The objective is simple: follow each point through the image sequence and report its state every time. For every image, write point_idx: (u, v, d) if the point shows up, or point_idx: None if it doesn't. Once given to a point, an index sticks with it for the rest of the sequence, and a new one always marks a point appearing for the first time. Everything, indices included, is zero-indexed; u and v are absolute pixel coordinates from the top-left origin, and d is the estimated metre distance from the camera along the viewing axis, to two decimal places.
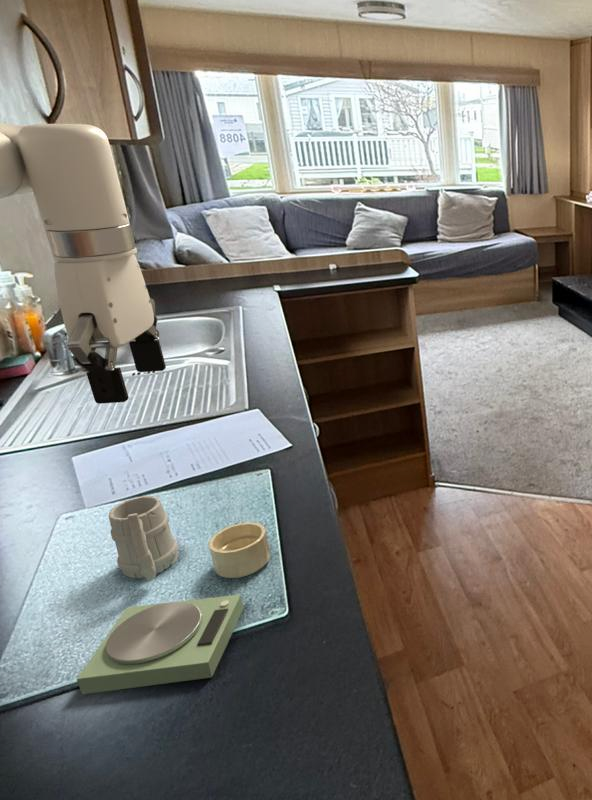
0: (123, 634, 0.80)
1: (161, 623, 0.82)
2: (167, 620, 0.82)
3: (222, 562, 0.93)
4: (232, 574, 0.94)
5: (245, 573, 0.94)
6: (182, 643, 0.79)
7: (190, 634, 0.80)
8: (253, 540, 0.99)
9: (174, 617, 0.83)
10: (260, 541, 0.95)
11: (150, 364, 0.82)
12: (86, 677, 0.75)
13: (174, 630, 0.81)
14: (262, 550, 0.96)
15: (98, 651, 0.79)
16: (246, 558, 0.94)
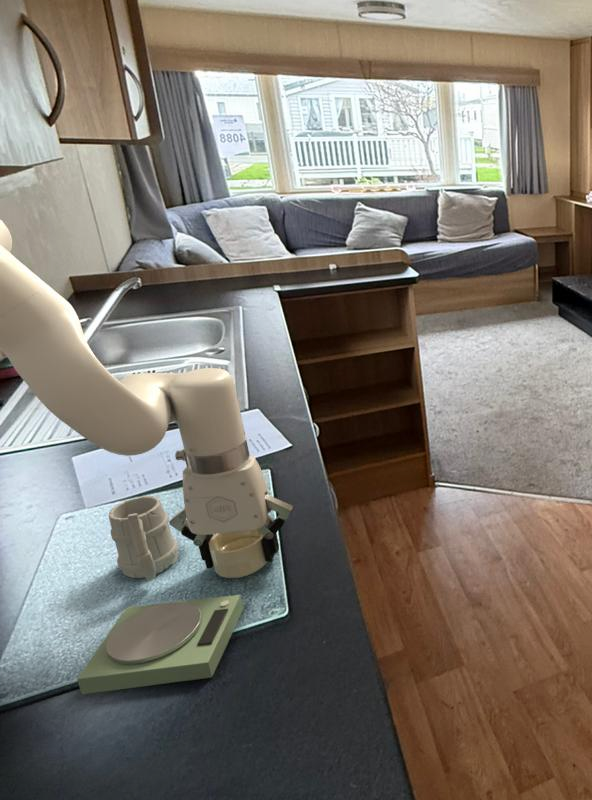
0: (123, 634, 0.80)
1: (161, 623, 0.82)
2: (167, 620, 0.82)
3: (222, 562, 0.93)
4: (232, 574, 0.94)
5: (245, 573, 0.94)
6: (182, 643, 0.79)
7: (190, 634, 0.80)
8: (253, 540, 0.99)
9: (174, 617, 0.83)
10: (260, 541, 0.95)
11: None
12: (86, 677, 0.75)
13: (174, 630, 0.81)
14: (262, 550, 0.96)
15: (98, 651, 0.79)
16: (246, 558, 0.94)
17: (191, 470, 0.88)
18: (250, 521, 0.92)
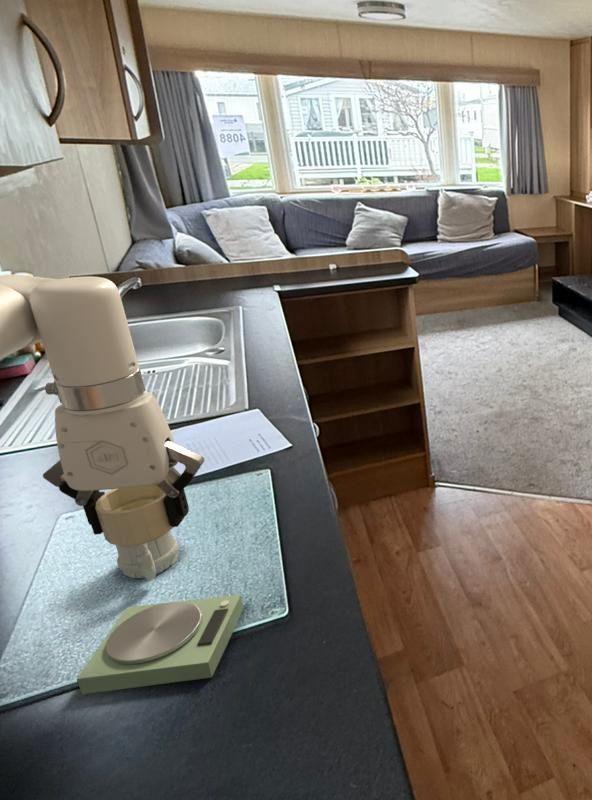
0: (123, 634, 0.80)
1: (161, 623, 0.82)
2: (167, 620, 0.82)
3: (111, 526, 0.74)
4: (125, 541, 0.75)
5: (142, 540, 0.75)
6: (182, 643, 0.79)
7: (190, 634, 0.80)
8: None
9: (174, 617, 0.83)
10: (162, 500, 0.76)
11: None
12: (86, 677, 0.75)
13: (174, 630, 0.81)
14: (166, 512, 0.77)
15: (98, 651, 0.79)
16: (142, 521, 0.75)
17: (64, 406, 0.69)
18: (145, 474, 0.73)
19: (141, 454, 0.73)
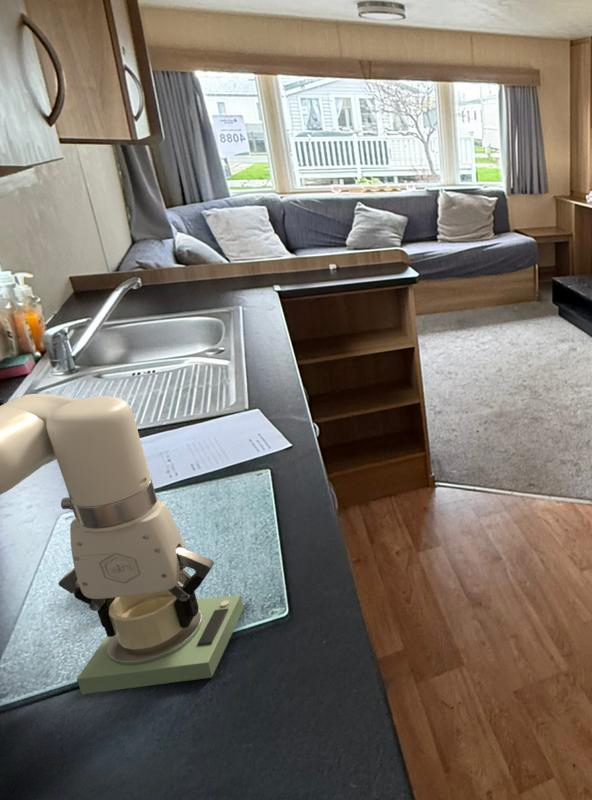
0: None
1: None
2: None
3: (124, 631, 0.76)
4: (137, 645, 0.77)
5: (153, 643, 0.78)
6: (182, 644, 0.79)
7: (190, 635, 0.80)
8: (168, 600, 0.82)
9: None
10: (173, 604, 0.79)
11: None
12: (86, 677, 0.75)
13: None
14: (176, 614, 0.79)
15: (98, 651, 0.79)
16: (154, 626, 0.77)
17: (79, 522, 0.72)
18: (157, 582, 0.76)
19: (153, 564, 0.75)
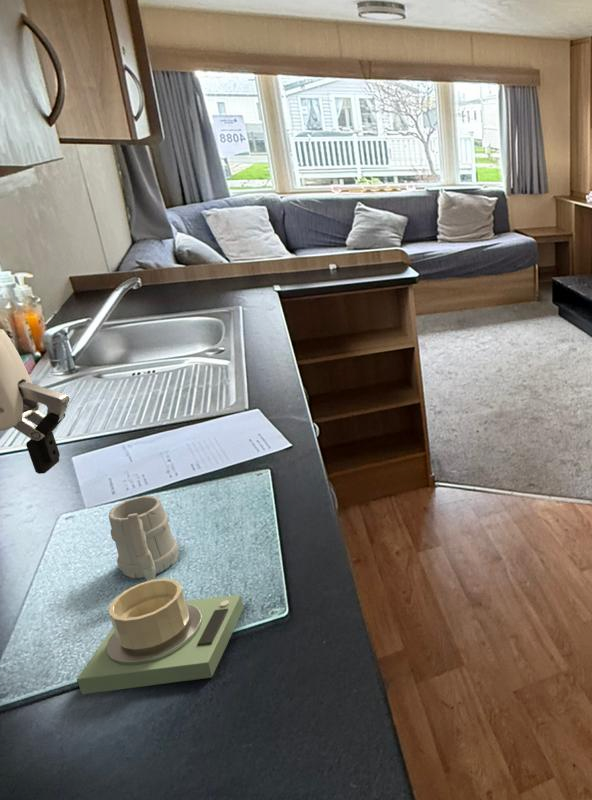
0: None
1: None
2: None
3: (124, 631, 0.76)
4: (137, 645, 0.77)
5: (153, 643, 0.78)
6: (182, 644, 0.79)
7: (190, 635, 0.80)
8: (168, 600, 0.82)
9: None
10: (173, 604, 0.79)
11: None
12: (86, 677, 0.75)
13: None
14: (176, 614, 0.79)
15: (98, 651, 0.79)
16: (154, 626, 0.77)
17: None
18: None
19: None
